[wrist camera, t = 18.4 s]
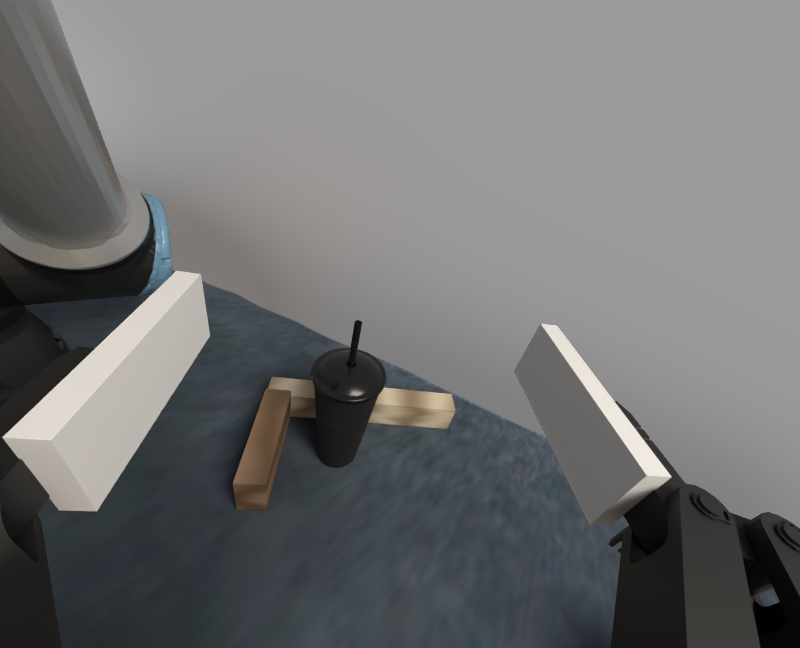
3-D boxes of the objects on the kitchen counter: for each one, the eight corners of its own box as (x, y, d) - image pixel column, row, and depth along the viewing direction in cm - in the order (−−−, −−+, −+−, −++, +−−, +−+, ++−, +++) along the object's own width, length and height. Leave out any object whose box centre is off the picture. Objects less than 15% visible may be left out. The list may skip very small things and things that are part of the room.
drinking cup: (320, 417, 45) (334, 291, 34) (374, 435, 44) (406, 313, 33) (293, 466, 39) (300, 332, 27) (355, 488, 38) (387, 360, 27)
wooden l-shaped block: (236, 509, 34) (232, 483, 31) (272, 397, 46) (271, 371, 43) (466, 516, 38) (480, 494, 35) (443, 412, 50) (453, 389, 48)
